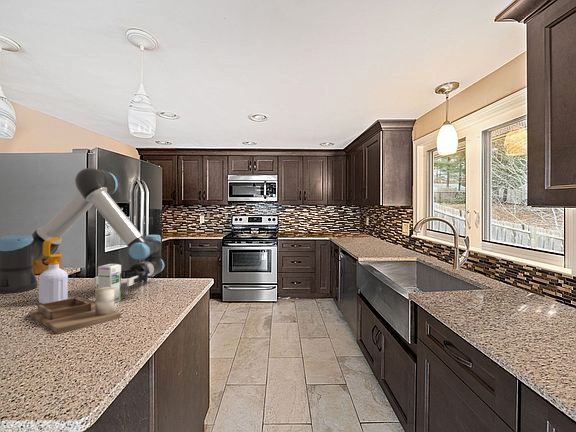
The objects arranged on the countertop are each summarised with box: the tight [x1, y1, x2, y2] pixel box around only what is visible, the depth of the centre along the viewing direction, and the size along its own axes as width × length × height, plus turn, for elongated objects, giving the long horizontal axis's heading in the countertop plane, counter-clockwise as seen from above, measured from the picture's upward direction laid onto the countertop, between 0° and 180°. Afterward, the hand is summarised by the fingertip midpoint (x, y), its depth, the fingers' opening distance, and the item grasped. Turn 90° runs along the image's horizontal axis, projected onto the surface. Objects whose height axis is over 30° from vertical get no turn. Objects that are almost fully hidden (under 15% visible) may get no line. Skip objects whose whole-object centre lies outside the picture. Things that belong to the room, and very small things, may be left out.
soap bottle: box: [38, 237, 69, 304], centre depth 124 cm, size 9×9×25 cm
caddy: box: [28, 287, 122, 335], centre depth 108 cm, size 25×18×10 cm
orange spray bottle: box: [33, 247, 62, 275], centre depth 171 cm, size 10×12×22 cm
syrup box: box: [97, 263, 122, 304], centre depth 124 cm, size 6×6×14 cm
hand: (111, 281), depth 124 cm, fingers open, 13 cm apart
